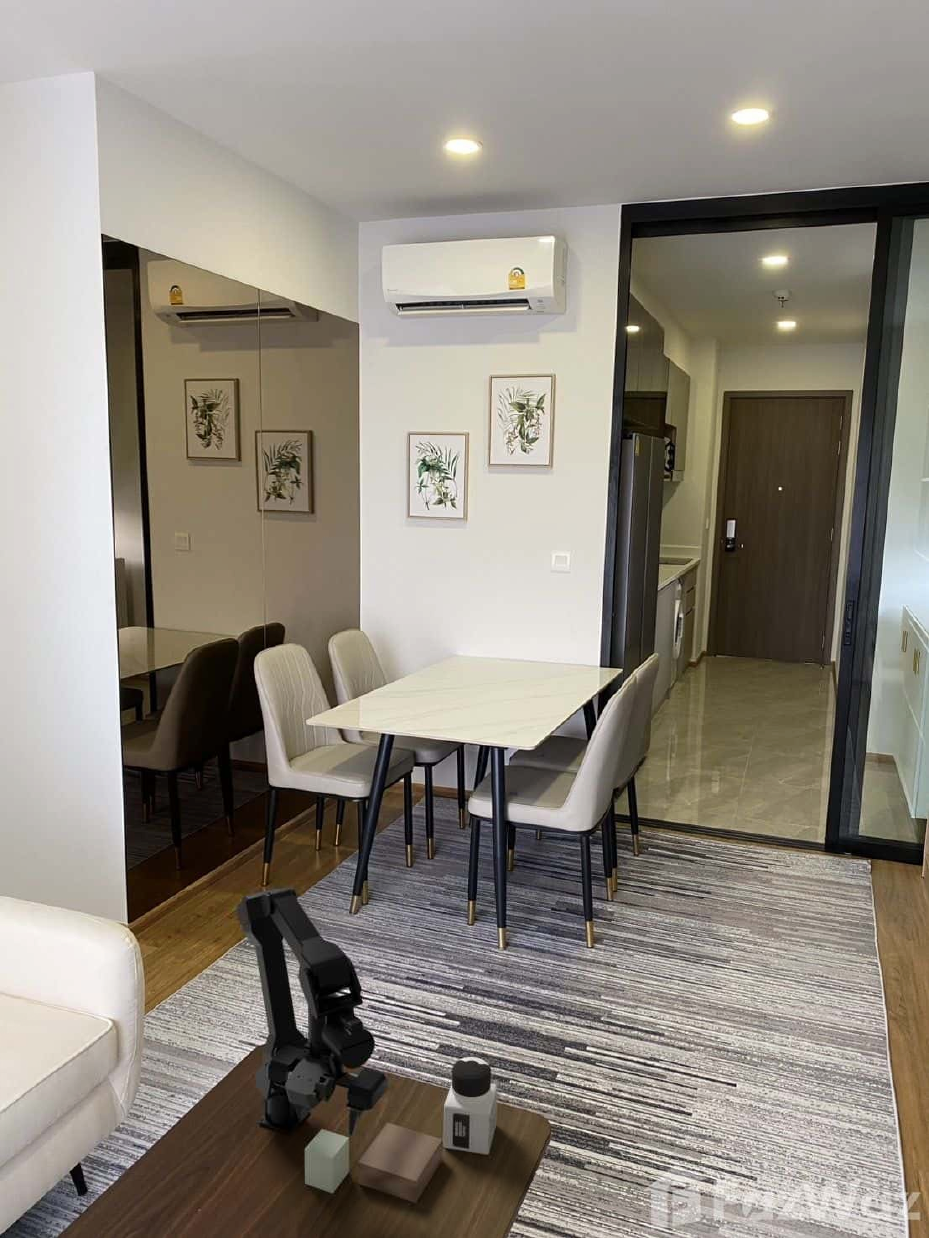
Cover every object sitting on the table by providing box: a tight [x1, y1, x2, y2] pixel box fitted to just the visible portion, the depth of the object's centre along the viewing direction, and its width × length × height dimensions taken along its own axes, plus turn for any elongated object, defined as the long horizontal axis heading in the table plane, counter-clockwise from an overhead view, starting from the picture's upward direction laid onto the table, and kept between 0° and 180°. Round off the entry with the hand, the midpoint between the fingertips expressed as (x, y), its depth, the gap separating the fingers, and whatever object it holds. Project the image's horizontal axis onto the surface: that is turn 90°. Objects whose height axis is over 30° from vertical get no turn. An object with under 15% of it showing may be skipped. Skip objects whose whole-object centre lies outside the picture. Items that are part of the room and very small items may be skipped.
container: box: [442, 1056, 498, 1156], centre depth 155 cm, size 8×8×13 cm
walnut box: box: [357, 1122, 443, 1203], centre depth 147 cm, size 10×10×4 cm
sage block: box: [304, 1128, 350, 1194], centre depth 146 cm, size 5×5×6 cm
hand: (326, 1125), depth 145 cm, fingers open, 9 cm apart
